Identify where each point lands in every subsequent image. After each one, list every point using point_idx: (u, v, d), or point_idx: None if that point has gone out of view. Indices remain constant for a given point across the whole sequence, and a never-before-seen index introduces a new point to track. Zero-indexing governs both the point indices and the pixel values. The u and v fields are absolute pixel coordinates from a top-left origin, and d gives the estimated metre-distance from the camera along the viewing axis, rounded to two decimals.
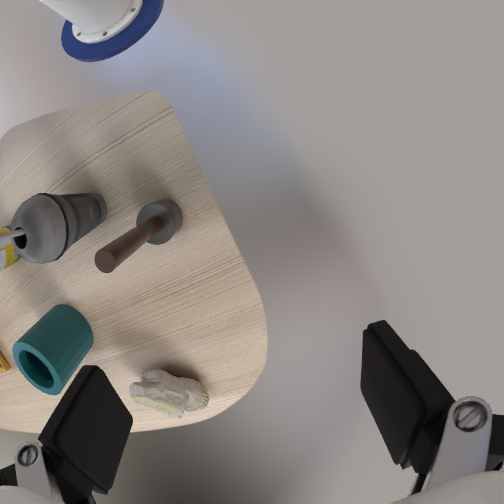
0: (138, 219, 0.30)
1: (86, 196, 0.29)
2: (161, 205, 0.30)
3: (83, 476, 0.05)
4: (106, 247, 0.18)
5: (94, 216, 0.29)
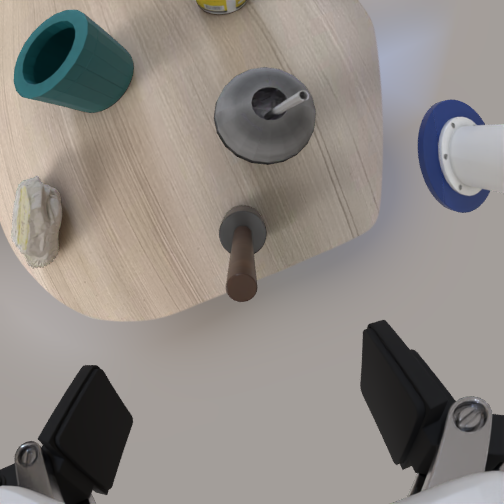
0: (249, 214, 0.28)
1: None
2: (263, 242, 0.29)
3: (82, 476, 0.05)
4: None
5: None
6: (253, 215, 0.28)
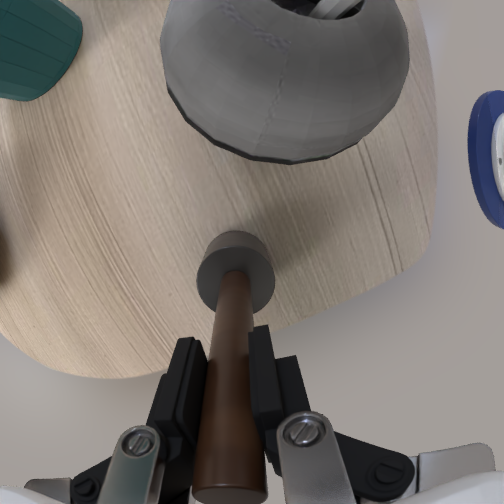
0: (246, 251, 0.16)
1: None
2: (270, 296, 0.17)
3: (195, 455, 0.06)
4: None
5: None
6: (253, 253, 0.16)
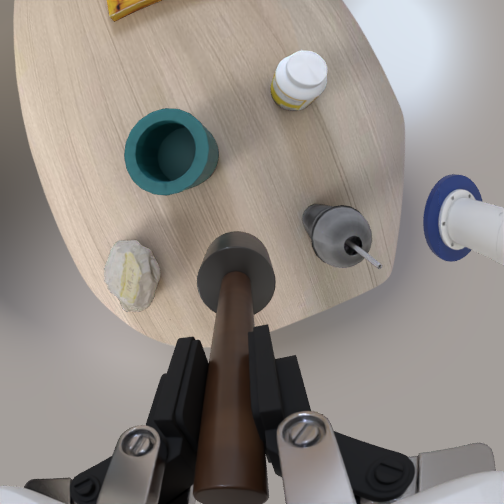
0: (246, 252, 0.16)
1: None
2: (270, 297, 0.17)
3: (194, 455, 0.06)
4: None
5: None
6: (254, 254, 0.16)
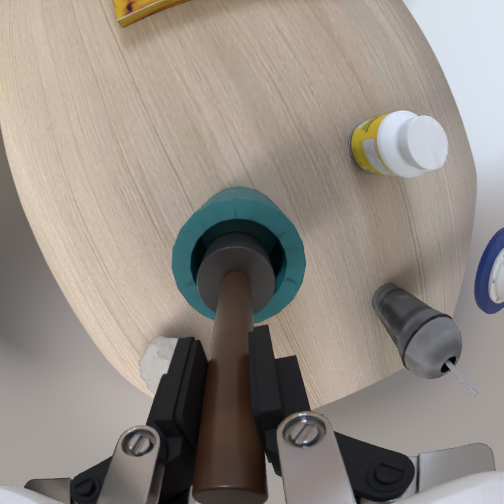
0: (246, 252, 0.16)
1: None
2: (270, 297, 0.17)
3: (194, 455, 0.06)
4: (266, 484, 0.05)
5: None
6: (253, 254, 0.16)
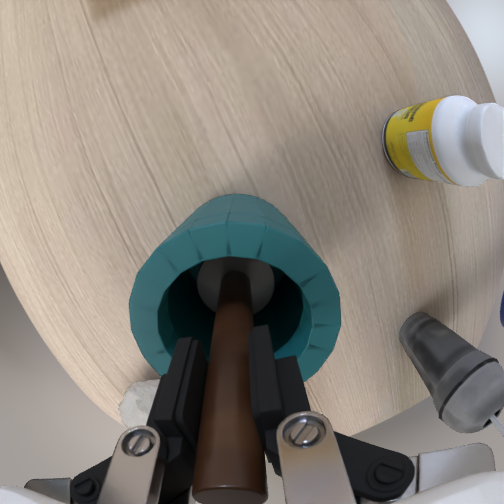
0: None
1: None
2: (270, 296, 0.17)
3: (195, 455, 0.06)
4: (266, 484, 0.05)
5: None
6: None
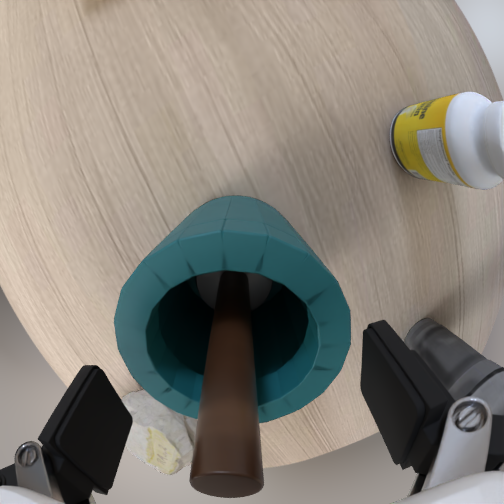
0: None
1: None
2: (268, 294, 0.18)
3: (83, 476, 0.05)
4: None
5: None
6: None
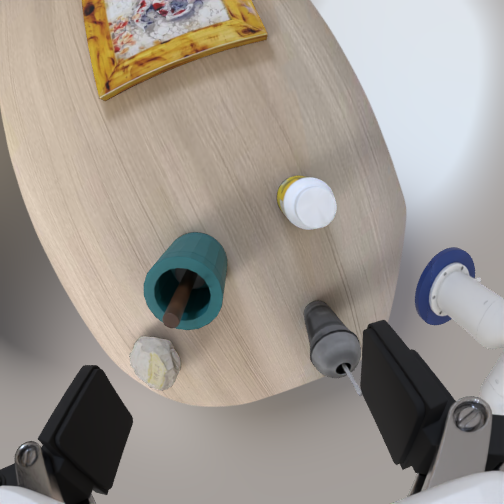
0: None
1: None
2: None
3: (83, 476, 0.05)
4: (180, 319, 0.27)
5: None
6: None
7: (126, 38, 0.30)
